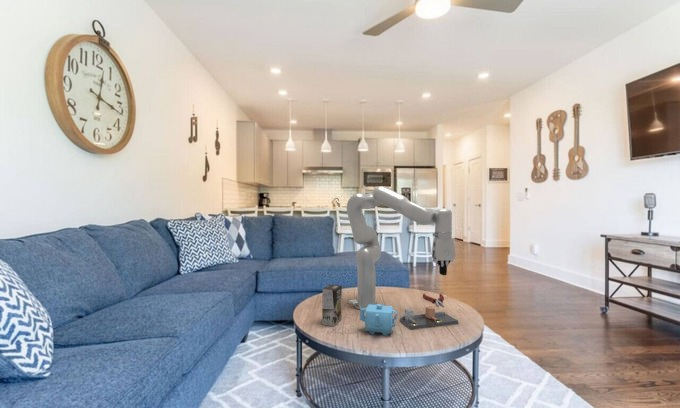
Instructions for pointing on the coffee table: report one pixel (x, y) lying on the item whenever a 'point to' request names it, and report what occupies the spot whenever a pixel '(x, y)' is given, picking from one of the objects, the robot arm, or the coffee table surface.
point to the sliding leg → (430, 312)
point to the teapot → (378, 318)
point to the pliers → (435, 299)
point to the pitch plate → (425, 320)
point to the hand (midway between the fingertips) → (443, 274)
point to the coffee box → (332, 305)
